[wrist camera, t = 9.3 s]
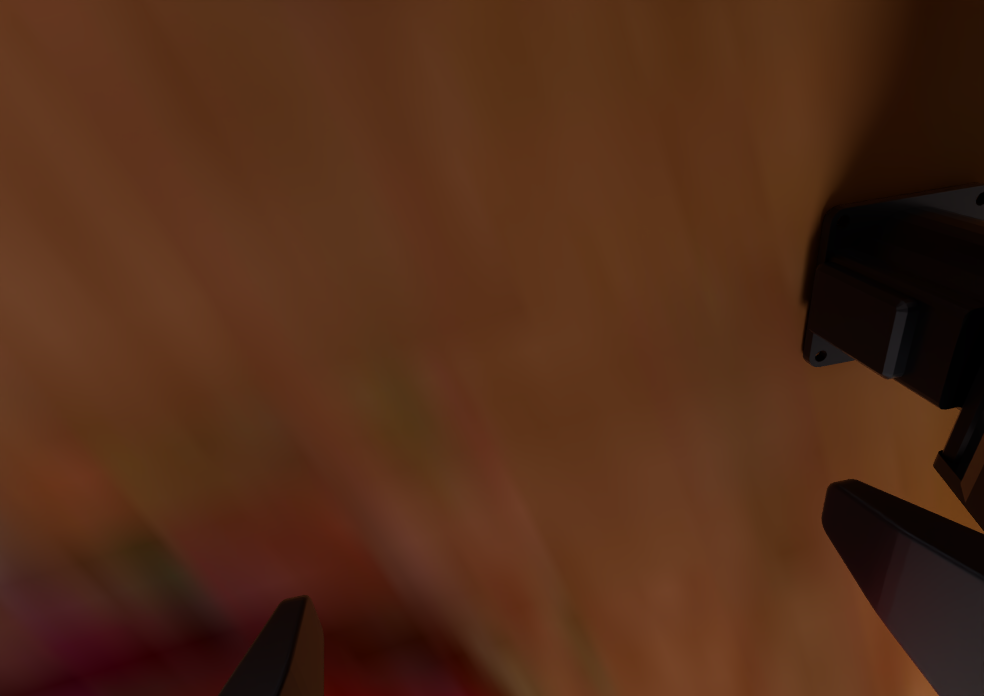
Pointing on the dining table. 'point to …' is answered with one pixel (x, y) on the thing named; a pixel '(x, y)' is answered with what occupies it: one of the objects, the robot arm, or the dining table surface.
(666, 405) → the dining table surface
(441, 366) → the dining table surface
